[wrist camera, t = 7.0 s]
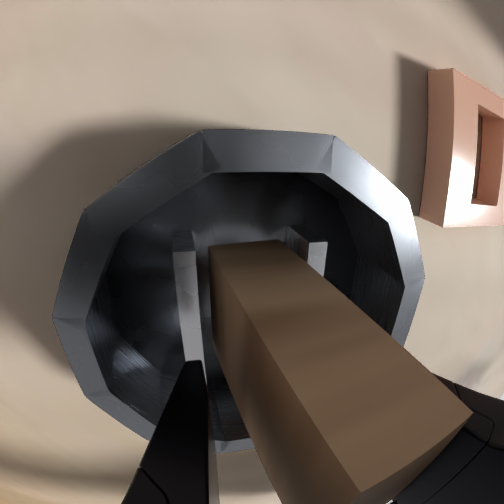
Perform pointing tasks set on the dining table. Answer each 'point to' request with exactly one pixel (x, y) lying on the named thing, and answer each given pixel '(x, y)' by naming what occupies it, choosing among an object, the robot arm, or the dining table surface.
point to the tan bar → (322, 381)
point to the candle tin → (197, 260)
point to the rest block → (463, 153)
